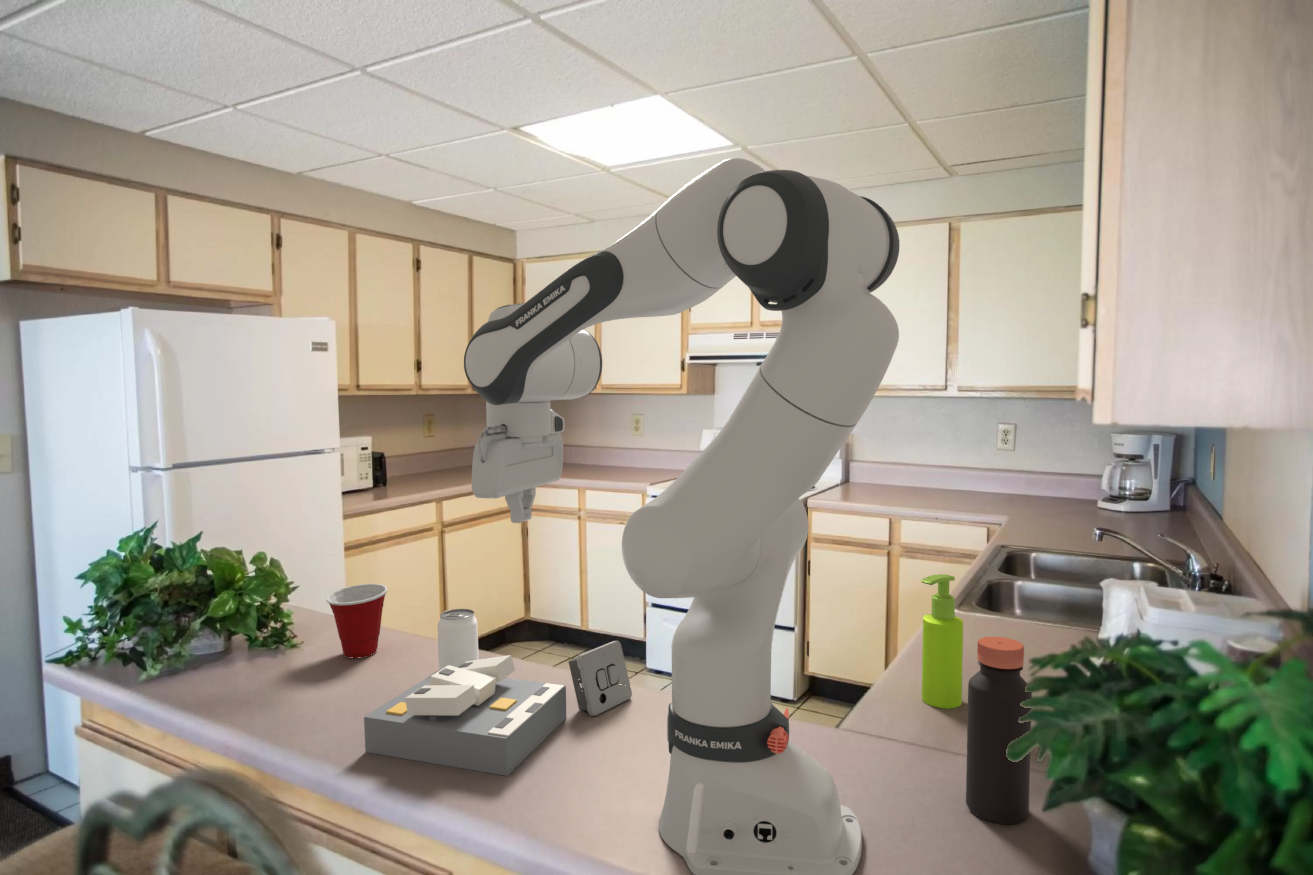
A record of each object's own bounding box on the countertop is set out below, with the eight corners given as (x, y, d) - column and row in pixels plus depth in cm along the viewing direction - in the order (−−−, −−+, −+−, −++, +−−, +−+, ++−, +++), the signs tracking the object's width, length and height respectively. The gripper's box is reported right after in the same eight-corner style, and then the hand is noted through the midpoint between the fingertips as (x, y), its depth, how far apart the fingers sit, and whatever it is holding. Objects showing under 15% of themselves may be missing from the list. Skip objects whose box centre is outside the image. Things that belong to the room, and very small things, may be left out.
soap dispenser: (908, 698, 122) (910, 574, 121) (940, 690, 125) (942, 568, 124) (937, 712, 117) (940, 583, 116) (969, 703, 120) (972, 577, 119)
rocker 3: (514, 670, 118) (511, 653, 118) (500, 681, 113) (496, 664, 113) (470, 676, 120) (466, 660, 120) (454, 687, 116) (450, 670, 116)
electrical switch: (593, 719, 116) (587, 657, 116) (568, 713, 120) (563, 653, 120) (633, 698, 124) (628, 641, 124) (609, 693, 127) (604, 637, 127)
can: (470, 691, 127) (467, 620, 126) (432, 689, 128) (430, 618, 127) (484, 676, 133) (483, 608, 132) (449, 674, 134) (447, 607, 134)
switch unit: (566, 717, 117) (565, 680, 116) (507, 775, 100) (506, 733, 99) (440, 700, 124) (439, 665, 123) (365, 751, 107) (363, 711, 106)
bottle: (959, 814, 90) (963, 646, 88) (972, 788, 96) (975, 630, 94) (1023, 832, 86) (1028, 657, 85) (1033, 804, 92) (1037, 639, 90)
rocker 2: (494, 693, 113) (496, 676, 112) (478, 705, 108) (479, 688, 108) (447, 680, 115) (448, 663, 115) (429, 691, 111) (430, 675, 110)
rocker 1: (476, 701, 107) (473, 683, 107) (458, 715, 103) (455, 696, 103) (427, 701, 110) (424, 684, 110) (407, 714, 106) (405, 696, 105)
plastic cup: (316, 655, 144) (313, 592, 144) (368, 640, 153) (366, 580, 152) (349, 668, 138) (346, 602, 137) (401, 651, 146) (399, 588, 146)
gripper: (501, 427, 97) (504, 536, 98) (569, 419, 116) (571, 510, 117) (457, 427, 99) (460, 534, 100) (532, 419, 118) (534, 508, 119)
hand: (521, 521), depth 109 cm, fingers closed
